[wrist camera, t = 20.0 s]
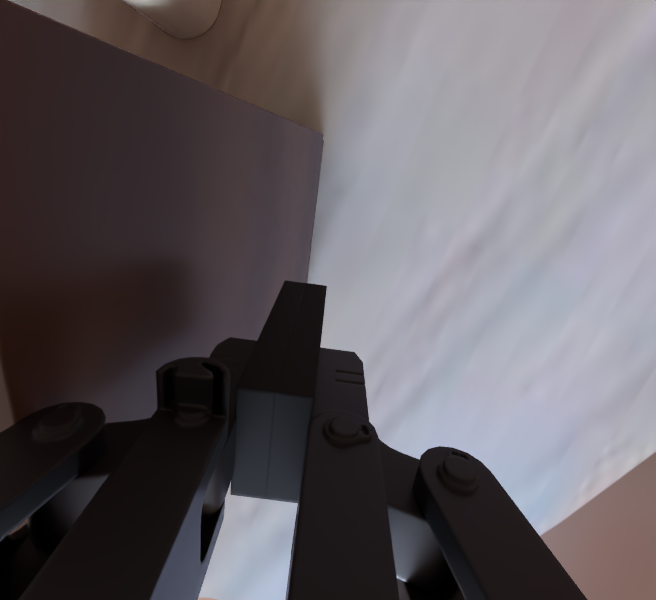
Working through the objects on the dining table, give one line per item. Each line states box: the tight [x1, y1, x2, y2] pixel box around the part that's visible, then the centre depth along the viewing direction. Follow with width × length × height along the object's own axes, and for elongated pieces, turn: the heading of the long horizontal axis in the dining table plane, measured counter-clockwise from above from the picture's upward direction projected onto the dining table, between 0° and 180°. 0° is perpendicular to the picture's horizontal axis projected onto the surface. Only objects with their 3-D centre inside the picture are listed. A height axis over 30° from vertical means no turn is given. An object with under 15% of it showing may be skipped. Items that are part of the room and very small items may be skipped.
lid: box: [0, 0, 323, 535], centre depth 16 cm, size 20×14×1 cm
